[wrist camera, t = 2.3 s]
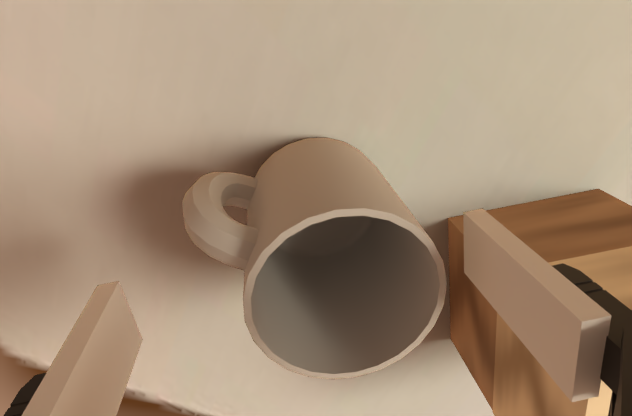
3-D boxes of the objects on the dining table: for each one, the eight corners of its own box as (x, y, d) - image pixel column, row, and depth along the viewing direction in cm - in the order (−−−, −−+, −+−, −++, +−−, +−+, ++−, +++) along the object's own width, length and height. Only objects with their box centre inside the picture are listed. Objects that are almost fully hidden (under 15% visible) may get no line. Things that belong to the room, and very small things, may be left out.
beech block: (498, 272, 19) (592, 374, 14) (688, 234, 20) (850, 320, 14) (492, 411, 23) (564, 534, 18) (651, 377, 24) (767, 487, 18)
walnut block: (447, 216, 25) (499, 274, 19) (596, 187, 25) (689, 236, 20) (449, 337, 29) (494, 413, 23) (579, 310, 29) (653, 378, 24)
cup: (349, 272, 25) (391, 394, 17) (178, 222, 23) (135, 339, 15) (404, 161, 23) (484, 244, 15) (219, 91, 20) (195, 146, 12)
